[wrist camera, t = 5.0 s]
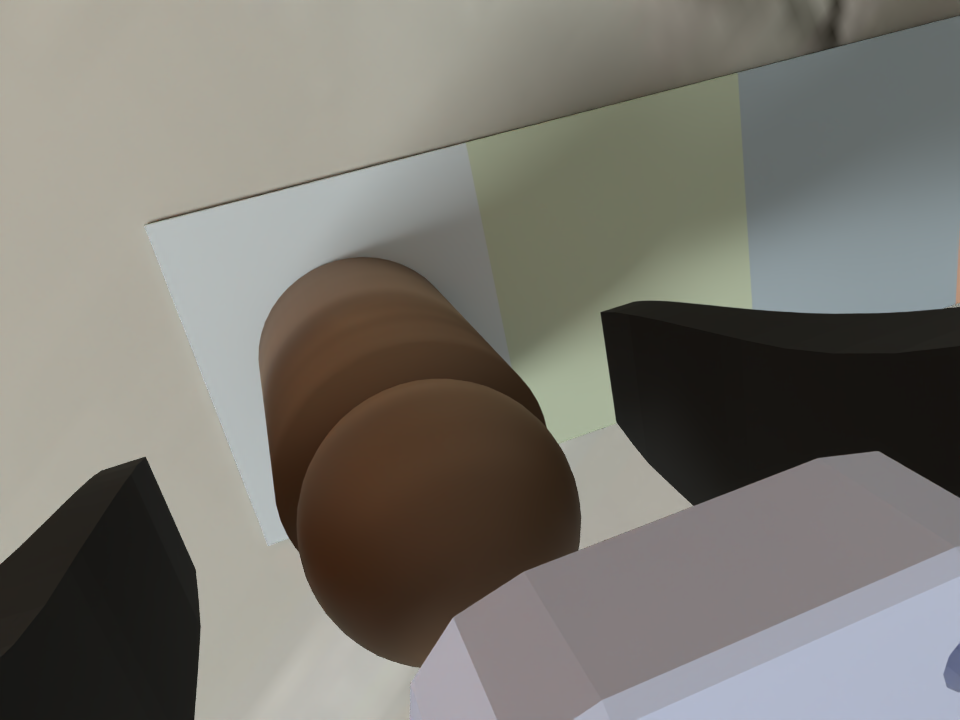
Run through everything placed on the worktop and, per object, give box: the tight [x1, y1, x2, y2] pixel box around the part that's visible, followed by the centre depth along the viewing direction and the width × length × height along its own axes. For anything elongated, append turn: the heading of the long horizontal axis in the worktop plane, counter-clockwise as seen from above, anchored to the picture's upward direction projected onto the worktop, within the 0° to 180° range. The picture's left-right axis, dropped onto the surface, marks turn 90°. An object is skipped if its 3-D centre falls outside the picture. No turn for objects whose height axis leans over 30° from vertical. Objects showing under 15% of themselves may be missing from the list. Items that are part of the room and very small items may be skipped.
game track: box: [144, 15, 960, 546], centre depth 17 cm, size 7×24×1 cm, turn 102°
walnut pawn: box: [258, 257, 581, 668], centre depth 12 cm, size 4×4×8 cm
